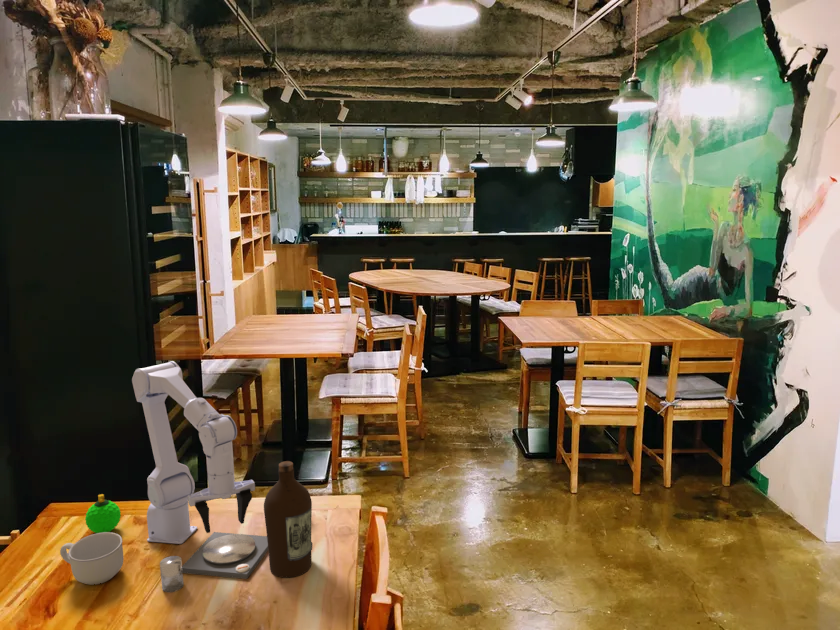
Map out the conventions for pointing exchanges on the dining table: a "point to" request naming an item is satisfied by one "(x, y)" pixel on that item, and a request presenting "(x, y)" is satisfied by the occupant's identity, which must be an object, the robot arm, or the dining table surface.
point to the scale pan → (228, 549)
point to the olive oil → (288, 524)
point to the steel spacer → (171, 573)
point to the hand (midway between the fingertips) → (224, 526)
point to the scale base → (234, 570)
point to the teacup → (95, 557)
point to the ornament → (102, 515)
